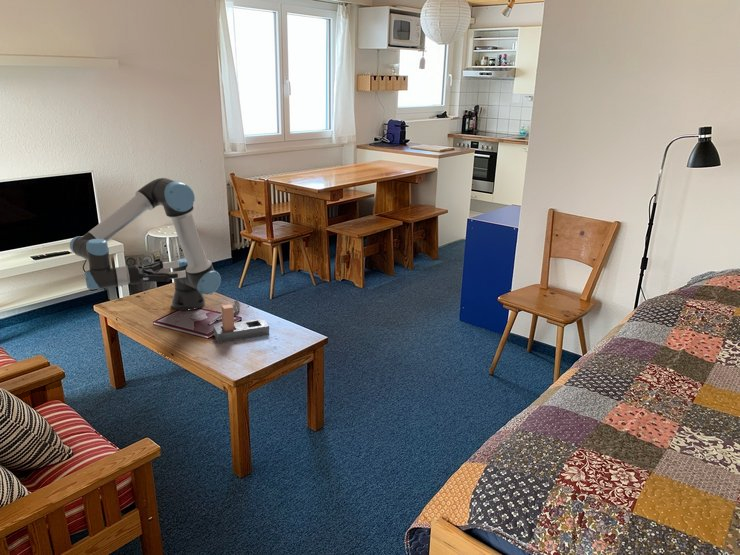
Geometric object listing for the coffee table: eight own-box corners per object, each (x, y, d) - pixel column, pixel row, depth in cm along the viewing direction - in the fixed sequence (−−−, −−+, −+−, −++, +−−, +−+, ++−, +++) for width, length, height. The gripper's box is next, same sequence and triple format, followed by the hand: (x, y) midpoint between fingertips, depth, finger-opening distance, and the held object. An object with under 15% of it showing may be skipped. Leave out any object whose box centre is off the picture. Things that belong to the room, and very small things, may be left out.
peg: (222, 335, 244) (221, 305, 239) (232, 333, 246) (230, 304, 241) (225, 339, 240) (223, 308, 236) (234, 337, 242) (233, 307, 238)
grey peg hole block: (213, 334, 244) (213, 325, 243) (262, 326, 254) (262, 318, 253) (218, 342, 237) (218, 334, 236) (269, 334, 247) (269, 326, 246)
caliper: (238, 310, 271) (237, 298, 268) (240, 311, 270) (239, 299, 268) (207, 325, 253) (206, 312, 251) (209, 325, 253) (208, 312, 251)
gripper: (125, 274, 240) (177, 268, 250) (133, 294, 219) (189, 286, 229) (123, 257, 237) (175, 251, 247) (131, 276, 217) (187, 269, 227)
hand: (182, 268), depth 238 cm, fingers open, 13 cm apart
